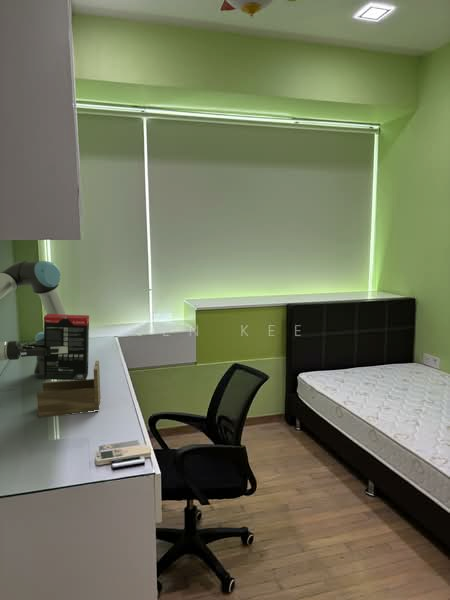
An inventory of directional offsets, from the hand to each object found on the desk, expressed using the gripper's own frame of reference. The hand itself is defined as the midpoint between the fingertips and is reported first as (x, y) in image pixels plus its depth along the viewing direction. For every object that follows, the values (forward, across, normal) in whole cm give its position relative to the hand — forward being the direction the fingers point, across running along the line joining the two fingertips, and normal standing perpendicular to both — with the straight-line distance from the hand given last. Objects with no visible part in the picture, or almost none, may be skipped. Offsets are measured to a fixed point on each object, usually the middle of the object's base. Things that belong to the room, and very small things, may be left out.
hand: (68, 347), depth 177 cm
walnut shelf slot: (-1, 0, -26) cm, 26 cm away
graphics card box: (-1, -1, -14) cm, 14 cm away
